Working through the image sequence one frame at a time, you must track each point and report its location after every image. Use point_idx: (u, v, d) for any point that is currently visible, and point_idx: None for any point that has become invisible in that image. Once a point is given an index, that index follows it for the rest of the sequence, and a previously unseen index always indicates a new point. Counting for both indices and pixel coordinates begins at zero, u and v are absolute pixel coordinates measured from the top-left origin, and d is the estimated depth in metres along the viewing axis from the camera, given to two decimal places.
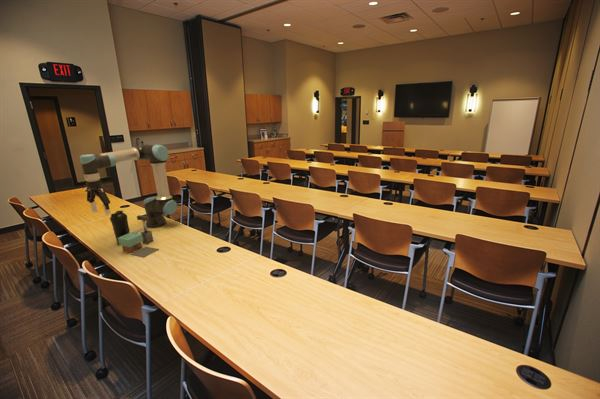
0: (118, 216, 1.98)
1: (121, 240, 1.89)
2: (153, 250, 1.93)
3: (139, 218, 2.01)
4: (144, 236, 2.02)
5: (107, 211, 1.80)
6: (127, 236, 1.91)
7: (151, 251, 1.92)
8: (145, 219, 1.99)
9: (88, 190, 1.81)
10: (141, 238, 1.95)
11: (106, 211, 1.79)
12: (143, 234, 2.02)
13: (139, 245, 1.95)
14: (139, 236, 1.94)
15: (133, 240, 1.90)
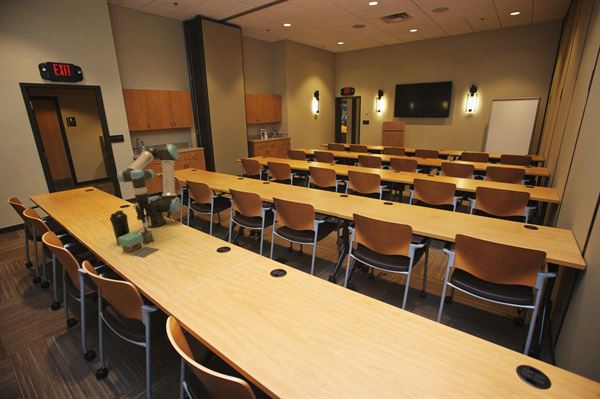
0: (118, 216, 1.98)
1: (121, 240, 1.89)
2: (153, 250, 1.93)
3: (139, 218, 2.01)
4: (144, 236, 2.02)
5: (144, 224, 1.99)
6: (127, 236, 1.91)
7: (151, 251, 1.92)
8: None
9: None
10: (141, 238, 1.95)
11: (144, 223, 1.99)
12: (143, 234, 2.02)
13: (139, 245, 1.95)
14: (139, 236, 1.94)
15: (133, 240, 1.90)
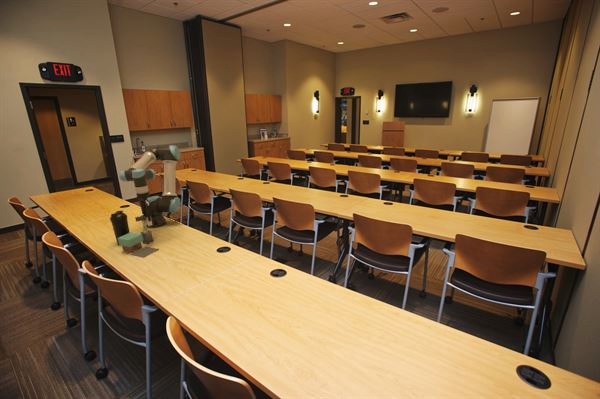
0: (118, 216, 1.98)
1: (121, 240, 1.89)
2: (153, 250, 1.93)
3: (139, 219, 1.99)
4: (144, 236, 2.02)
5: (149, 222, 2.02)
6: (127, 236, 1.91)
7: (151, 251, 1.92)
8: None
9: (140, 202, 2.02)
10: (141, 238, 1.95)
11: (148, 222, 2.01)
12: (143, 234, 2.02)
13: (139, 245, 1.95)
14: (139, 236, 1.94)
15: (133, 240, 1.90)
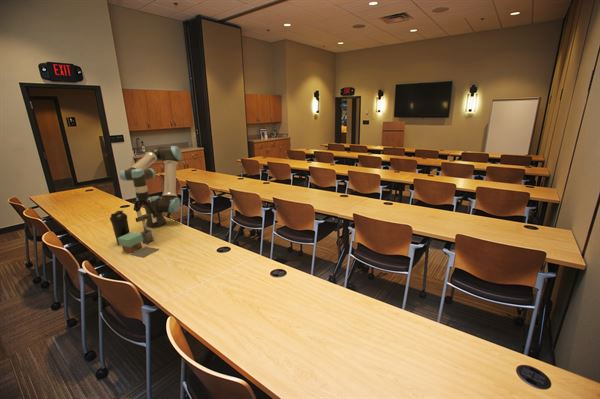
0: (118, 216, 1.98)
1: (121, 240, 1.89)
2: (153, 250, 1.93)
3: (140, 219, 1.99)
4: (144, 236, 2.02)
5: (154, 219, 2.01)
6: (127, 236, 1.91)
7: (151, 251, 1.92)
8: (148, 217, 2.03)
9: (136, 200, 2.01)
10: (141, 238, 1.95)
11: (153, 219, 2.00)
12: (143, 234, 2.02)
13: (139, 245, 1.95)
14: (139, 236, 1.94)
15: (133, 240, 1.90)
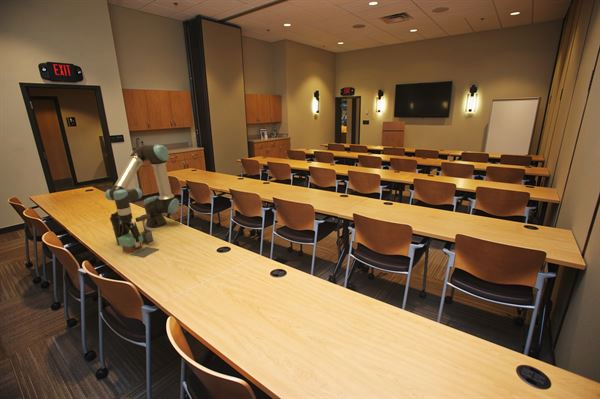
0: None
1: (121, 240, 1.89)
2: (153, 250, 1.93)
3: (140, 219, 1.99)
4: (144, 236, 2.02)
5: (137, 243, 1.92)
6: (127, 236, 1.91)
7: (151, 251, 1.92)
8: (148, 217, 2.03)
9: (119, 223, 1.91)
10: (141, 238, 1.95)
11: (136, 243, 1.91)
12: (143, 234, 2.02)
13: None
14: (139, 236, 1.94)
15: (133, 240, 1.90)
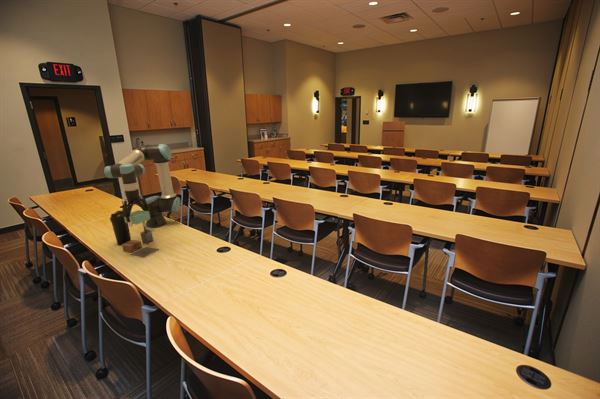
0: (118, 216, 1.98)
1: None
2: (153, 250, 1.93)
3: None
4: (144, 236, 2.02)
5: (129, 223, 1.80)
6: (134, 212, 1.84)
7: (151, 251, 1.92)
8: None
9: None
10: (134, 221, 1.78)
11: (129, 223, 1.80)
12: (143, 234, 2.02)
13: (139, 245, 1.95)
14: (133, 217, 1.78)
15: None
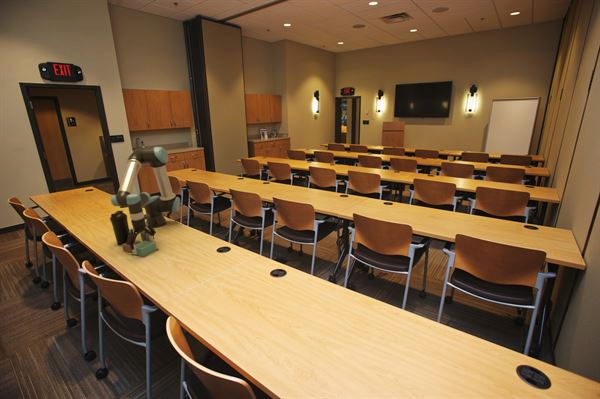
0: (118, 216, 1.98)
1: None
2: None
3: None
4: (144, 236, 2.02)
5: (133, 250, 1.84)
6: (141, 243, 1.91)
7: None
8: (148, 217, 2.03)
9: None
10: (141, 253, 1.85)
11: (132, 250, 1.84)
12: (143, 234, 2.02)
13: None
14: (140, 250, 1.85)
15: None
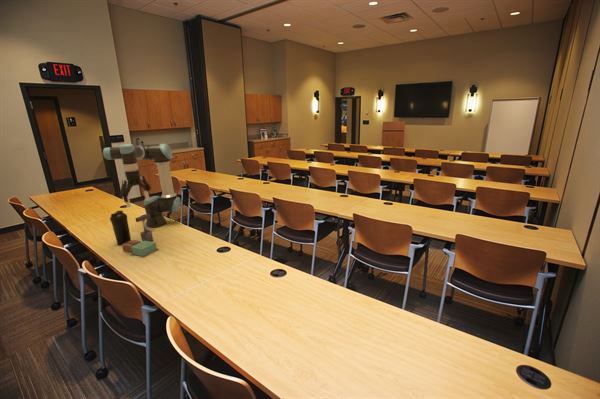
0: (118, 216, 1.98)
1: None
2: None
3: (140, 219, 1.99)
4: (144, 236, 2.02)
5: (127, 203, 1.76)
6: (141, 243, 1.91)
7: None
8: (148, 217, 2.03)
9: (140, 178, 1.84)
10: (141, 253, 1.85)
11: (126, 203, 1.77)
12: (143, 234, 2.02)
13: None
14: (140, 250, 1.85)
15: (134, 250, 1.87)
